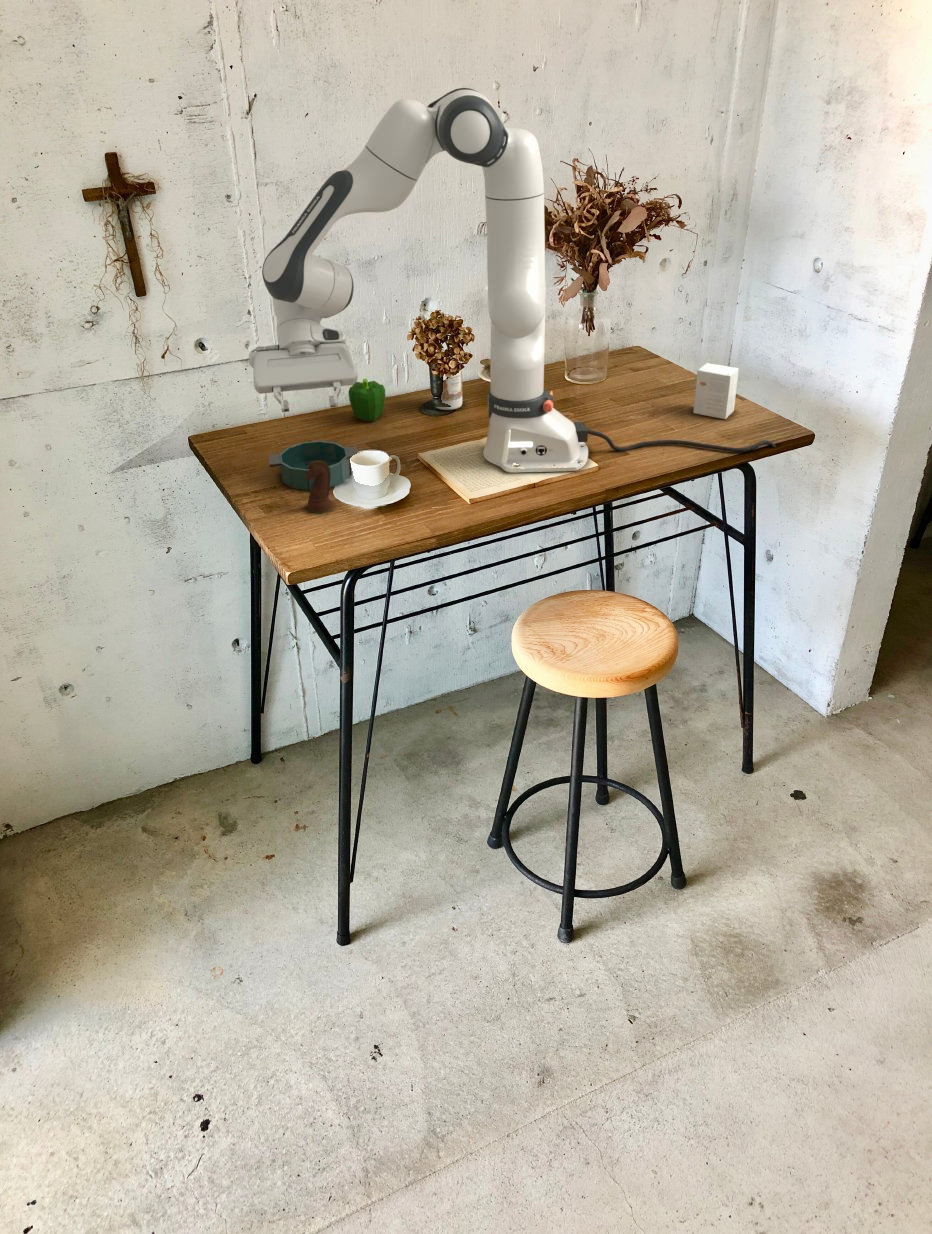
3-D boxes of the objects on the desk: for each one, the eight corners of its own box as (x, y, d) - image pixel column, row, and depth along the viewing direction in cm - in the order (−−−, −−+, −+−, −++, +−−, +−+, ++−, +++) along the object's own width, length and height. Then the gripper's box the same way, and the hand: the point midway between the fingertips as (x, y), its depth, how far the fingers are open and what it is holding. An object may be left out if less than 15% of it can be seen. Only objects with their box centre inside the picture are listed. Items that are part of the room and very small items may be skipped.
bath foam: (443, 413, 239) (440, 329, 227) (428, 404, 243) (424, 321, 232) (468, 406, 242) (466, 323, 231) (452, 397, 246) (450, 315, 235)
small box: (734, 411, 236) (740, 368, 230) (725, 420, 232) (731, 375, 226) (701, 405, 240) (706, 362, 234) (692, 413, 236) (697, 369, 230)
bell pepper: (360, 409, 242) (357, 368, 236) (391, 413, 239) (389, 372, 233) (344, 422, 235) (340, 380, 230) (376, 427, 233) (373, 385, 227)
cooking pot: (363, 485, 208) (361, 464, 205) (273, 494, 205) (270, 474, 203) (355, 456, 219) (354, 437, 217) (270, 465, 217) (267, 445, 214)
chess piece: (305, 504, 201) (300, 458, 196) (330, 500, 203) (326, 454, 197) (311, 514, 198) (305, 467, 192) (336, 510, 199) (331, 463, 193)
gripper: (246, 340, 196) (254, 407, 193) (352, 331, 199) (361, 396, 196) (248, 355, 202) (257, 420, 199) (351, 346, 205) (360, 409, 203)
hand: (309, 408), depth 198 cm, fingers open, 8 cm apart
